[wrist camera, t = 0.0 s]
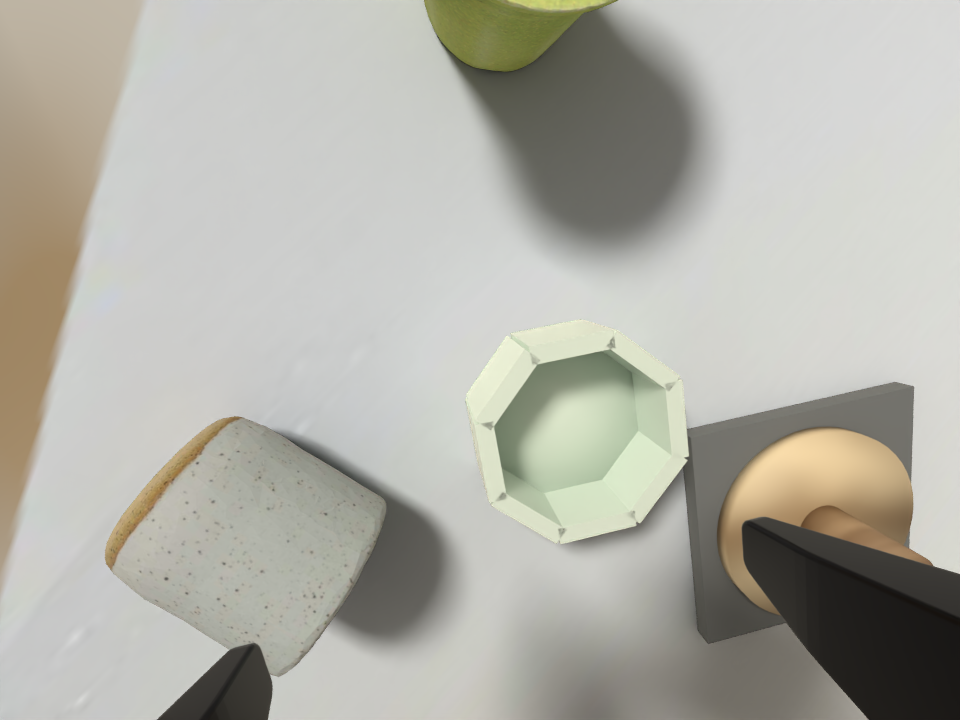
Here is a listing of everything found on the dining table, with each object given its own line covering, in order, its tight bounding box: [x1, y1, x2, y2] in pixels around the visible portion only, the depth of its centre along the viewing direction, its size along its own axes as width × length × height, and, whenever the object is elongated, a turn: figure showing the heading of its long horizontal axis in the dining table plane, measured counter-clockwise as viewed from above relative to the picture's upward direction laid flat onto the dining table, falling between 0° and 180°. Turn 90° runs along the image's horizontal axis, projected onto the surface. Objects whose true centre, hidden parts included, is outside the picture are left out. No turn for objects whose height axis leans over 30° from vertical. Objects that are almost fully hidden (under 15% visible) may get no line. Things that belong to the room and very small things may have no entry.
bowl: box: [465, 319, 689, 544], centre depth 21 cm, size 9×9×4 cm
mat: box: [683, 382, 914, 644], centre depth 26 cm, size 13×13×1 cm
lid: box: [717, 426, 933, 616], centre depth 23 cm, size 11×11×5 cm
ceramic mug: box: [105, 416, 386, 677], centre depth 19 cm, size 11×8×8 cm
